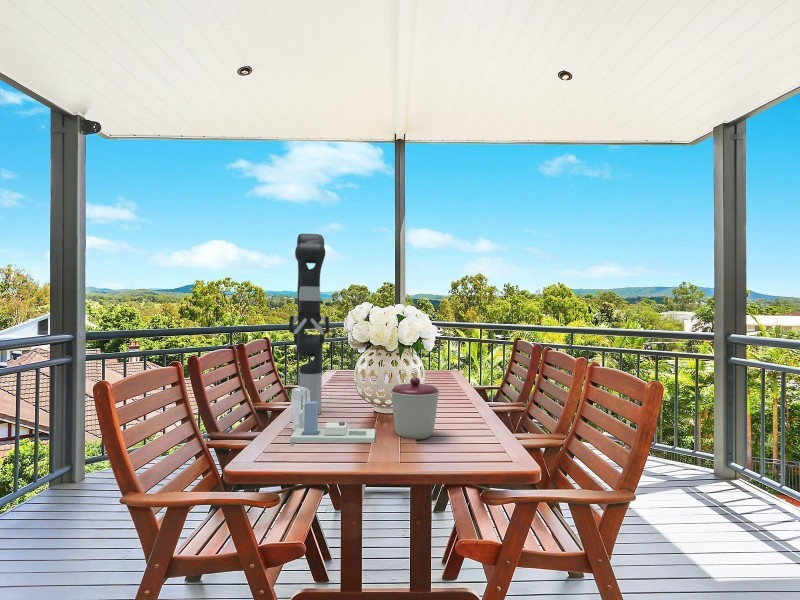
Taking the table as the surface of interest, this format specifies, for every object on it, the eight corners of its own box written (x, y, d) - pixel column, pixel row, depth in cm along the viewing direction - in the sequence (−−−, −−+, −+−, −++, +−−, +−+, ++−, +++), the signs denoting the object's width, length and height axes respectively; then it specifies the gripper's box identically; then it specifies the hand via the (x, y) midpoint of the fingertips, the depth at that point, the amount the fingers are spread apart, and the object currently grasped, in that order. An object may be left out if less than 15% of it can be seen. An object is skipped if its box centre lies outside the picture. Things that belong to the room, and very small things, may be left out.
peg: (305, 435, 184) (306, 401, 183) (317, 435, 184) (317, 401, 184) (304, 438, 180) (304, 403, 179) (315, 438, 180) (316, 403, 180)
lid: (326, 429, 185) (326, 420, 185) (346, 429, 185) (346, 420, 185) (324, 434, 178) (324, 425, 178) (345, 434, 178) (345, 425, 178)
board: (296, 435, 187) (296, 428, 187) (375, 435, 188) (375, 428, 188) (290, 444, 175) (290, 437, 175) (374, 445, 176) (374, 437, 176)
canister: (382, 431, 194) (383, 374, 194) (428, 428, 200) (428, 372, 200) (398, 445, 177) (399, 382, 177) (447, 441, 183) (448, 380, 183)
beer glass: (286, 429, 195) (287, 389, 195) (298, 425, 201) (299, 386, 201) (301, 432, 192) (302, 391, 192) (313, 428, 198) (314, 388, 198)
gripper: (330, 299, 192) (330, 344, 192) (291, 299, 192) (290, 343, 192) (328, 299, 185) (328, 346, 185) (287, 299, 184) (287, 345, 184)
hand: (309, 344), depth 188 cm, fingers open, 8 cm apart
